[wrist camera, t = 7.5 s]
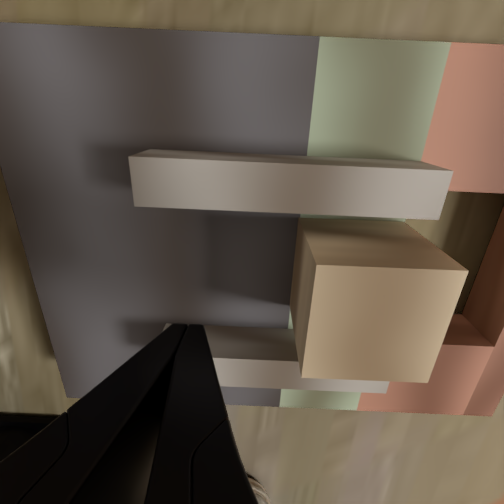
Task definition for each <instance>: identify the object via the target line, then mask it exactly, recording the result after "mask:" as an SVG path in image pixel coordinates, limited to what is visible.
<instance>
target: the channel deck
mask: <svg viewBox="0 0 504 504" xmlns="http://www.w3.org/2000/svg"><path fill="white" fill-rule="evenodd" d="M0 167H1V170H2V174H3V177H4V180H5V184H6V187H7V191H8V194H9V198H10V201H11V205H12V208H13V212H14V215H15V219H16V222H17V226H18V229H19V232H20V236H21V239H22V243H23V246H24V250H25V253H26V257H27V260H28V264H29V267H30V271H31V274H32V278H33V281H34V285H35V288H36V291H37V295H38V298H39V302H40V305H41V309H42V312H43V316H44V319H45V323H46V326H47V330H48V333H49V337H50V340H51V344H52V347H53V350H54V354H55V357H56V361H57V364H58V368H59V371H60V375H61V378H62V382H63V385H64V389H65V392H66V396H67V397H69V398H82V397H83V396H84V395H86V394H87V393H88V392H89V391H91V390H92V389H93V388H94V387H95V386H97V385H98V384H99V383H100V382H102V381H103V380H104V379H105V378H106V377H108V376H109V375H110V374H111V373H113V372H114V371H115V370H116V369H117V368H119V367H120V366H121V365H122V364H124V363H125V362H126V361H127V360H128V359H130V358H131V357H132V356H133V355H135V354H136V353H137V352H138V351H139V350H141V349H142V348H143V347H144V346H145V345H147V344H148V343H149V342H150V341H152V340H153V339H154V338H155V337H156V336H158V335H159V334H160V333H161V332H163V331H164V330H165V329H166V328H167V327H169V326H170V325H171V324H173V323H186V324H188V325H189V324H203V325H204V327H205V331H206V335H207V339H208V342H209V346H210V350H211V354H212V357H213V361H214V365H215V369H216V372H217V376H218V380H219V384H220V387H221V391H222V395H223V399H224V403H225V404H227V405H249V406H272V407H294V408H317V409H339V410H362V411H384V412H407V413H429V414H452V415H474V416H492V415H493V413H494V411H495V409H496V407H497V405H498V403H499V402H500V400H501V398H502V396H503V394H504V206H503V209H502V212H501V214H500V217H499V219H498V222H497V224H496V227H495V230H494V232H493V235H492V237H491V240H490V243H489V245H488V248H487V250H486V253H485V255H484V258H483V261H482V263H481V266H480V268H479V271H478V274H477V276H476V279H475V281H474V284H473V286H472V289H471V292H470V294H469V297H468V299H467V302H466V305H465V307H464V310H463V312H462V314H453V316H452V318H451V321H450V324H449V326H448V329H447V332H446V335H445V337H444V340H443V343H442V345H441V348H440V351H439V354H438V356H437V359H436V362H435V365H434V367H433V370H432V373H431V375H430V378H429V381H428V383H417V382H392V381H367V380H343V379H318V378H301V373H300V367H299V361H298V355H297V349H296V343H295V336H294V330H293V324H292V318H291V312H290V296H291V286H292V277H293V267H294V257H295V247H296V237H297V227H298V218H322V219H347V220H372V221H398V222H405V221H406V219H428V220H439V218H440V214H441V211H442V208H443V205H444V201H445V198H446V195H447V191H460V192H483V193H504V45H501V44H479V43H456V42H434V41H411V40H388V39H366V38H343V37H321V36H298V35H276V34H253V33H231V32H208V31H186V30H163V29H141V28H118V27H95V26H73V25H50V24H28V23H5V22H0Z"/></svg>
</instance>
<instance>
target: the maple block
mask: <svg viewBox="0 0 504 504" xmlns="http://www.w3.org/2000/svg"><path fill="white" fill-rule="evenodd" d="M468 272H469V271H468V270H467V269H466V268H464V267H463V266H462V265H460V264H459V263H458V262H456V261H455V260H454V259H452V258H451V257H450V256H448V255H447V254H446V253H444V252H443V251H442V250H440V249H439V248H438V247H436V246H435V245H434V244H432V243H431V242H430V241H429V240H427V239H426V238H425V237H423V236H422V235H421V234H419V233H418V232H417V231H415V230H414V229H413V228H411V227H410V226H409V225H407V224H406V223H405V222H398V221H372V220H347V219H322V218H298V227H297V237H296V247H295V257H294V267H293V277H292V286H291V296H290V312H291V318H292V324H293V330H294V336H295V343H296V349H297V355H298V361H299V367H300V373H301V378H318V379H343V380H367V381H392V382H417V383H428V381H429V378H430V375H431V373H432V370H433V367H434V365H435V362H436V359H437V356H438V354H439V351H440V348H441V345H442V343H443V340H444V337H445V335H446V332H447V329H448V326H449V324H450V321H451V318H452V316H453V313H454V310H455V307H456V305H457V302H458V299H459V296H460V294H461V291H462V288H463V286H464V283H465V280H466V277H467V275H468Z"/></svg>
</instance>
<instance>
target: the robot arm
mask: <svg viewBox="0 0 504 504" xmlns="http://www.w3.org/2000/svg"><path fill="white" fill-rule="evenodd" d="M228 419H229V418H228V414H227V410H226V406H225V403H224V399H223V395H222V391H221V387H220V384H219V380H218V376H217V372H216V369H215V365H214V361H213V357H212V354H211V350H210V346H209V342H208V339H207V335H206V331H205V327H204V325H203V324H189V325H188V324H186V323H173V324H171V325H170V326H169V327H167V328H166V329H165V330H164V331H163V332H161V333H160V334H159V335H158V336H156V337H155V338H154V339H153V340H152V341H150V342H149V343H148V344H147V345H145V346H144V347H143V348H142V349H141V350H139V351H138V352H137V353H136V354H135V355H133V356H132V357H131V358H130V359H128V360H127V361H126V362H125V363H124V364H122V365H121V366H120V367H119V368H117V369H116V370H115V371H114V372H113V373H111V374H110V375H109V376H108V377H106V378H105V379H104V380H103V381H102V382H100V383H99V384H98V385H97V386H95V387H94V388H93V389H92V390H91V391H89V392H88V393H87V394H86V395H84V396H83V397H82V398H81V399H80V400H78V401H77V402H76V403H75V404H73V405H72V406H71V407H70V408H69V409H68V410H67V413H66V412H64V413H62V414H61V415H60V416H59V417H57V418H45V417H23V416H0V504H259V503H258V500H257V498H256V496H255V493H254V491H253V489H252V486H251V484H250V482H249V479H248V476H247V474H246V471H245V469H244V466H243V463H242V461H241V458H240V455H239V452H238V449H237V445H236V442H235V439H234V436H233V432H232V428H231V424H230V421H229V420H228Z"/></svg>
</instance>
